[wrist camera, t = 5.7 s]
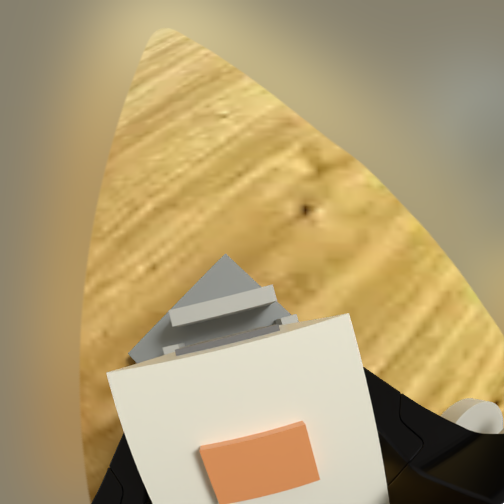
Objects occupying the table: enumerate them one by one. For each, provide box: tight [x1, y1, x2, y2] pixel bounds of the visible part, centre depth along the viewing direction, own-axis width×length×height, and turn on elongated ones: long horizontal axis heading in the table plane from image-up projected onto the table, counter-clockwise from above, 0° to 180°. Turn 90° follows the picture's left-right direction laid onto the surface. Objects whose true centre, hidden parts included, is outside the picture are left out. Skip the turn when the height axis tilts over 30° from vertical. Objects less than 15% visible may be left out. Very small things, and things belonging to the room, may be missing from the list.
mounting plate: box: [128, 254, 299, 363], centre depth 20 cm, size 10×10×4 cm
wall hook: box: [441, 398, 504, 434], centre depth 16 cm, size 9×10×10 cm
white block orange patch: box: [107, 313, 390, 504], centre depth 10 cm, size 4×4×11 cm
